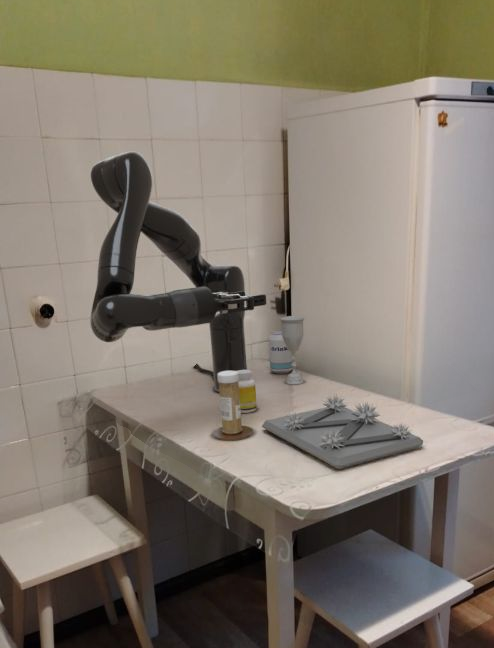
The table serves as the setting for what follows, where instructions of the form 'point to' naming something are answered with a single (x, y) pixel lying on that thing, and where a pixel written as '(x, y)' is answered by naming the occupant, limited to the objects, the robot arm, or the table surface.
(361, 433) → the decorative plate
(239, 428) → the sprinkles bottle
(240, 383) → the supplement bottle
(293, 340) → the chalice
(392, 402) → the table surface
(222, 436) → the coaster
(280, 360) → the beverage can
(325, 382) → the table surface
